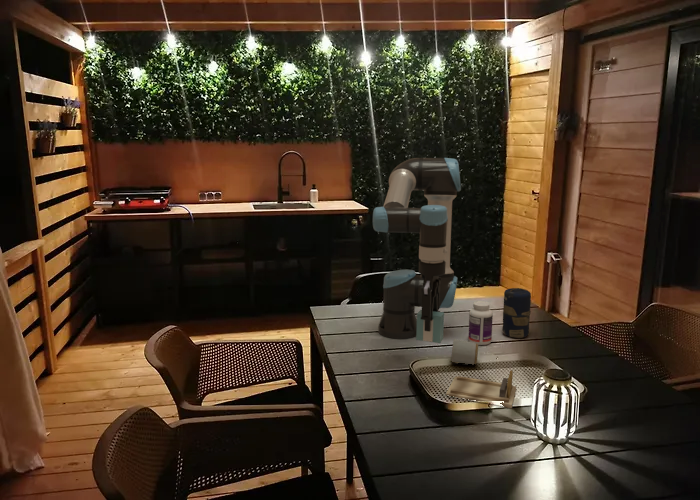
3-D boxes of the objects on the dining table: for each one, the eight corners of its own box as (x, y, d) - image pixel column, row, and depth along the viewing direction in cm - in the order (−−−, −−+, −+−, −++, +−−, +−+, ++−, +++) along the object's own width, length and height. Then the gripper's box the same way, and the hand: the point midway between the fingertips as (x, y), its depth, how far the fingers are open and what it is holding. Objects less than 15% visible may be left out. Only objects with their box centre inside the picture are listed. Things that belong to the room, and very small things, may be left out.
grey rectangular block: (477, 369, 175) (478, 346, 174) (450, 366, 177) (451, 343, 176) (477, 356, 185) (478, 334, 184) (453, 354, 187) (453, 332, 186)
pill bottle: (489, 338, 201) (491, 300, 198) (492, 346, 194) (495, 307, 190) (467, 337, 202) (468, 299, 199) (469, 345, 194) (471, 306, 191)
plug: (416, 339, 161) (416, 313, 160) (419, 335, 165) (420, 309, 163) (439, 343, 159) (440, 316, 157) (443, 338, 162) (444, 312, 161)
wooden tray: (446, 396, 157) (446, 373, 155) (454, 379, 168) (455, 358, 166) (511, 408, 150) (513, 384, 149) (516, 389, 161) (517, 367, 160)
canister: (531, 339, 200) (535, 291, 196) (505, 339, 200) (508, 291, 196) (524, 330, 209) (527, 284, 205) (499, 330, 209) (501, 284, 206)
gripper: (438, 268, 148) (435, 350, 153) (451, 255, 163) (449, 330, 168) (410, 265, 150) (409, 346, 155) (427, 253, 166) (425, 327, 171)
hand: (429, 337), depth 162 cm, fingers closed on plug, 4 cm apart
